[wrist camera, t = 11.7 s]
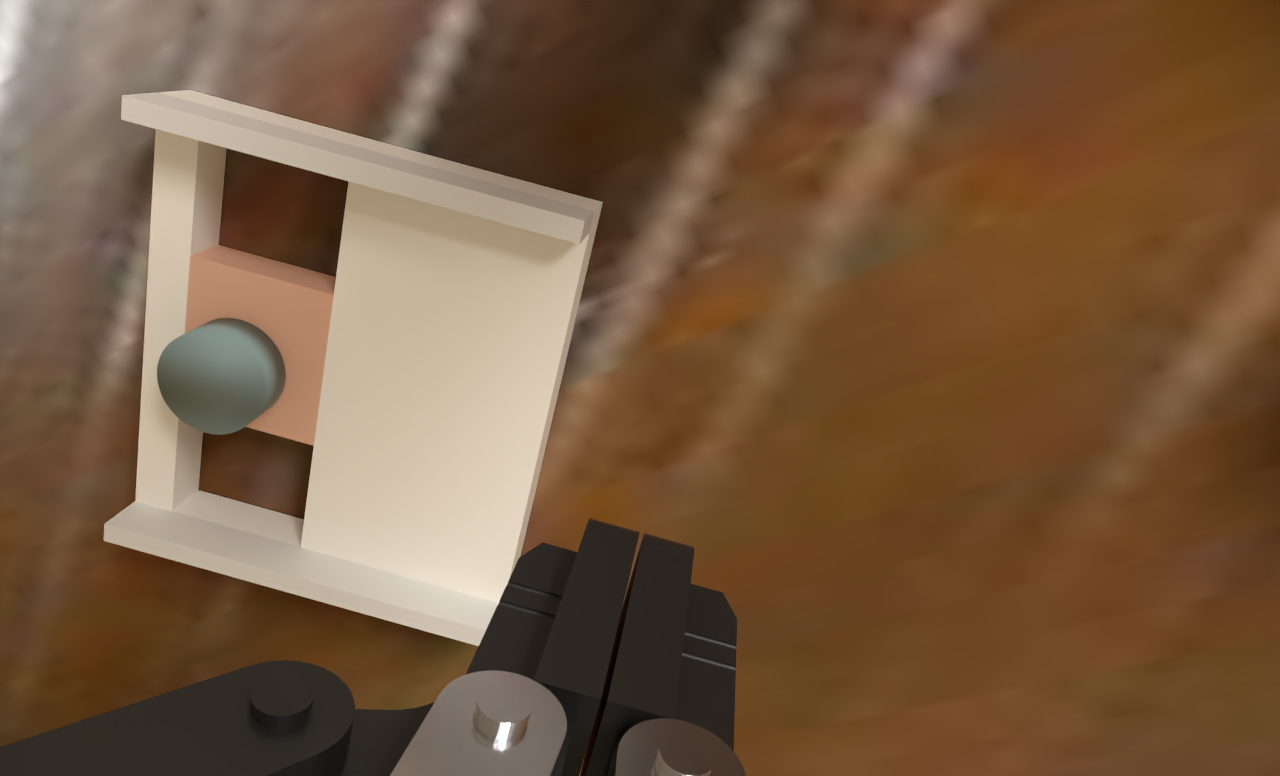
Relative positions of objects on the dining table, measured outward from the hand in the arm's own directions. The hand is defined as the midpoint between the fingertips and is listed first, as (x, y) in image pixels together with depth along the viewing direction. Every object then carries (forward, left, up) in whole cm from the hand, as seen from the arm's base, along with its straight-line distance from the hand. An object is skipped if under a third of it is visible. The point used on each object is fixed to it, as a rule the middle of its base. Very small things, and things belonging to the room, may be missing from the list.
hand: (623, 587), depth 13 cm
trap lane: (+12, -15, -32) cm, 37 cm away
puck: (+13, -20, -30) cm, 38 cm away
